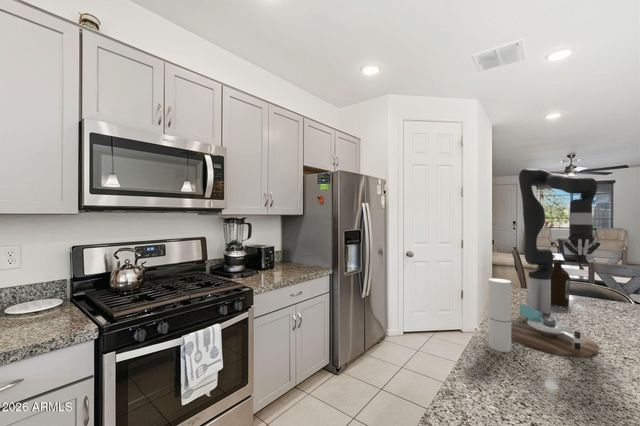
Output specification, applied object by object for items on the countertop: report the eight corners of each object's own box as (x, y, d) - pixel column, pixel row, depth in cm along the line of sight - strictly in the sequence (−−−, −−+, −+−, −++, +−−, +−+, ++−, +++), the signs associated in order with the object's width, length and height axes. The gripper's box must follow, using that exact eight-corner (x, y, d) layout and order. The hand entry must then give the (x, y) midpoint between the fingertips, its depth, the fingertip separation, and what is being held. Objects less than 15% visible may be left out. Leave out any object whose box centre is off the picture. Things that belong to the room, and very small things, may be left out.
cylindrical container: (508, 344, 109) (507, 279, 109) (513, 353, 102) (513, 283, 102) (486, 341, 111) (486, 277, 111) (491, 350, 104) (491, 281, 105)
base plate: (575, 364, 95) (575, 341, 95) (492, 332, 120) (492, 315, 120) (612, 347, 107) (612, 327, 107) (530, 322, 132) (530, 306, 132)
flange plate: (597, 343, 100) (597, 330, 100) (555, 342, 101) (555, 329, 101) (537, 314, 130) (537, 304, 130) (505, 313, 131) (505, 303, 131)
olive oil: (544, 304, 160) (544, 259, 161) (547, 300, 168) (547, 257, 168) (569, 308, 153) (569, 262, 153) (571, 304, 160) (571, 260, 160)
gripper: (566, 223, 122) (566, 264, 121) (605, 223, 117) (606, 266, 117) (558, 223, 129) (558, 261, 129) (594, 223, 125) (595, 263, 124)
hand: (581, 263), depth 123 cm, fingers closed
